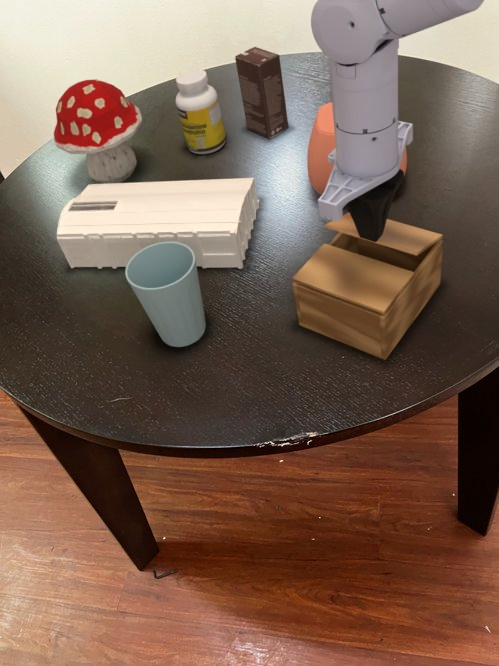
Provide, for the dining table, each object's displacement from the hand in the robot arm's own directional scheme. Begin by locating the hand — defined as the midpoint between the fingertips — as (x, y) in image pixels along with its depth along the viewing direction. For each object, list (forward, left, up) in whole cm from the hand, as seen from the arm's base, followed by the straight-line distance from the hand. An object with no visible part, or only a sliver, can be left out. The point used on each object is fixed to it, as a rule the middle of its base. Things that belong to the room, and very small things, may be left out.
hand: (370, 235), depth 68 cm
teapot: (-2, -24, -10) cm, 26 cm away
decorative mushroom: (+35, -36, -10) cm, 52 cm away
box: (+10, -42, -10) cm, 45 cm away
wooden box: (0, +1, -10) cm, 10 cm away
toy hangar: (+25, -18, -10) cm, 33 cm away
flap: (-2, -2, -1) cm, 3 cm away
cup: (+22, +1, -10) cm, 25 cm away
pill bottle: (+20, -40, -10) cm, 46 cm away
